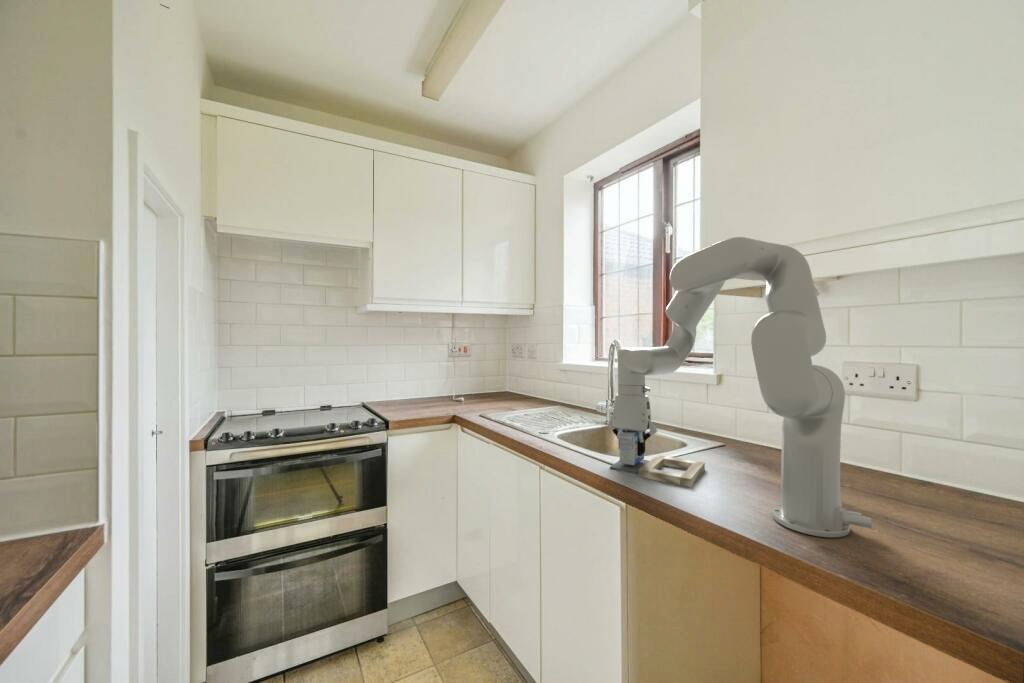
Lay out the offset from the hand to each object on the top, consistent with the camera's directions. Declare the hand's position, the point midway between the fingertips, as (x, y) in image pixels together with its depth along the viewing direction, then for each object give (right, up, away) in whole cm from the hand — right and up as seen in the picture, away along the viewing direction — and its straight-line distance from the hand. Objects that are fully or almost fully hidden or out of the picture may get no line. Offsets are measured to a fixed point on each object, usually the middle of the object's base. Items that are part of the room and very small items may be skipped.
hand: (631, 453), depth 120 cm
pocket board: (+9, -4, -7) cm, 12 cm away
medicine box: (0, -3, 0) cm, 3 cm away
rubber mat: (0, -4, 0) cm, 4 cm away
